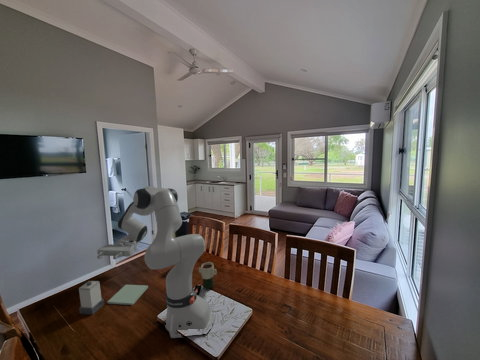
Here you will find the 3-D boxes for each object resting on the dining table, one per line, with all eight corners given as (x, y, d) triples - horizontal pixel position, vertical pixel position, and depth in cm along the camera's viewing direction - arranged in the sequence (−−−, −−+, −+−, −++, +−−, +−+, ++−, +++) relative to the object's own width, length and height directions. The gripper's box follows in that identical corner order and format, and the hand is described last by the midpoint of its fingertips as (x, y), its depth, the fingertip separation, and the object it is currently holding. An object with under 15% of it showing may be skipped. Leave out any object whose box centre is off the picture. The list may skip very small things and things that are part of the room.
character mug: (219, 284, 117) (218, 263, 115) (215, 292, 110) (214, 269, 108) (202, 281, 119) (201, 261, 118) (196, 289, 112) (195, 267, 111)
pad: (148, 287, 116) (148, 285, 115) (132, 305, 102) (132, 303, 102) (125, 286, 117) (125, 284, 117) (107, 303, 103) (107, 301, 103)
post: (104, 304, 103) (102, 287, 102) (92, 314, 96) (90, 297, 95) (91, 303, 104) (89, 287, 103) (79, 313, 97) (77, 296, 96)
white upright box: (101, 299, 102) (99, 279, 101) (92, 307, 96) (89, 286, 95) (91, 298, 103) (88, 278, 102) (81, 307, 97) (78, 286, 96)
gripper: (107, 240, 124) (88, 251, 110) (138, 241, 122) (122, 253, 108) (108, 250, 125) (89, 262, 111) (139, 251, 123) (124, 263, 109)
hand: (106, 257), depth 110 cm, fingers open, 8 cm apart
